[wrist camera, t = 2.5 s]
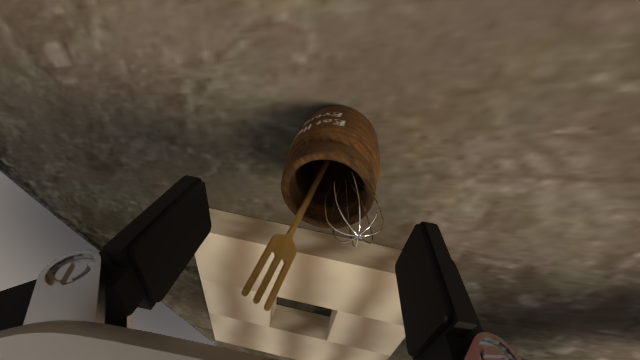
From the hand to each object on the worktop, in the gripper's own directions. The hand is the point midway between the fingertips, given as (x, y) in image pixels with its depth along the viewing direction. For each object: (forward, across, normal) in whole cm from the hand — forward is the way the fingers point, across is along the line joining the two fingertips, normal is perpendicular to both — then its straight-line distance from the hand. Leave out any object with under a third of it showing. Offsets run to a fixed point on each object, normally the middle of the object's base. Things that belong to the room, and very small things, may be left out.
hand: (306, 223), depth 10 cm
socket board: (+9, -1, +22) cm, 24 cm away
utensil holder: (+10, -1, 0) cm, 10 cm away
